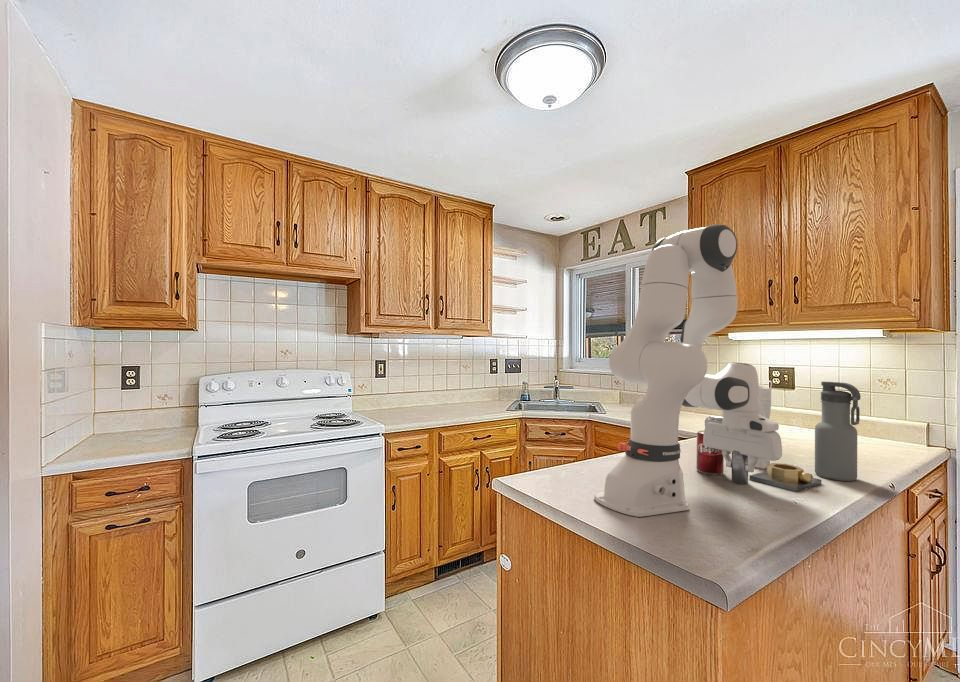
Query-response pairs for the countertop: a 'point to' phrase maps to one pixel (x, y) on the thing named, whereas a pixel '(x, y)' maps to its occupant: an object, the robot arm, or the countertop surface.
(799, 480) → the plate
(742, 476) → the pipe nipple
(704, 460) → the soda can
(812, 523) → the countertop surface
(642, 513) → the robot arm
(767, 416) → the skyscraper
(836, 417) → the water bottle
